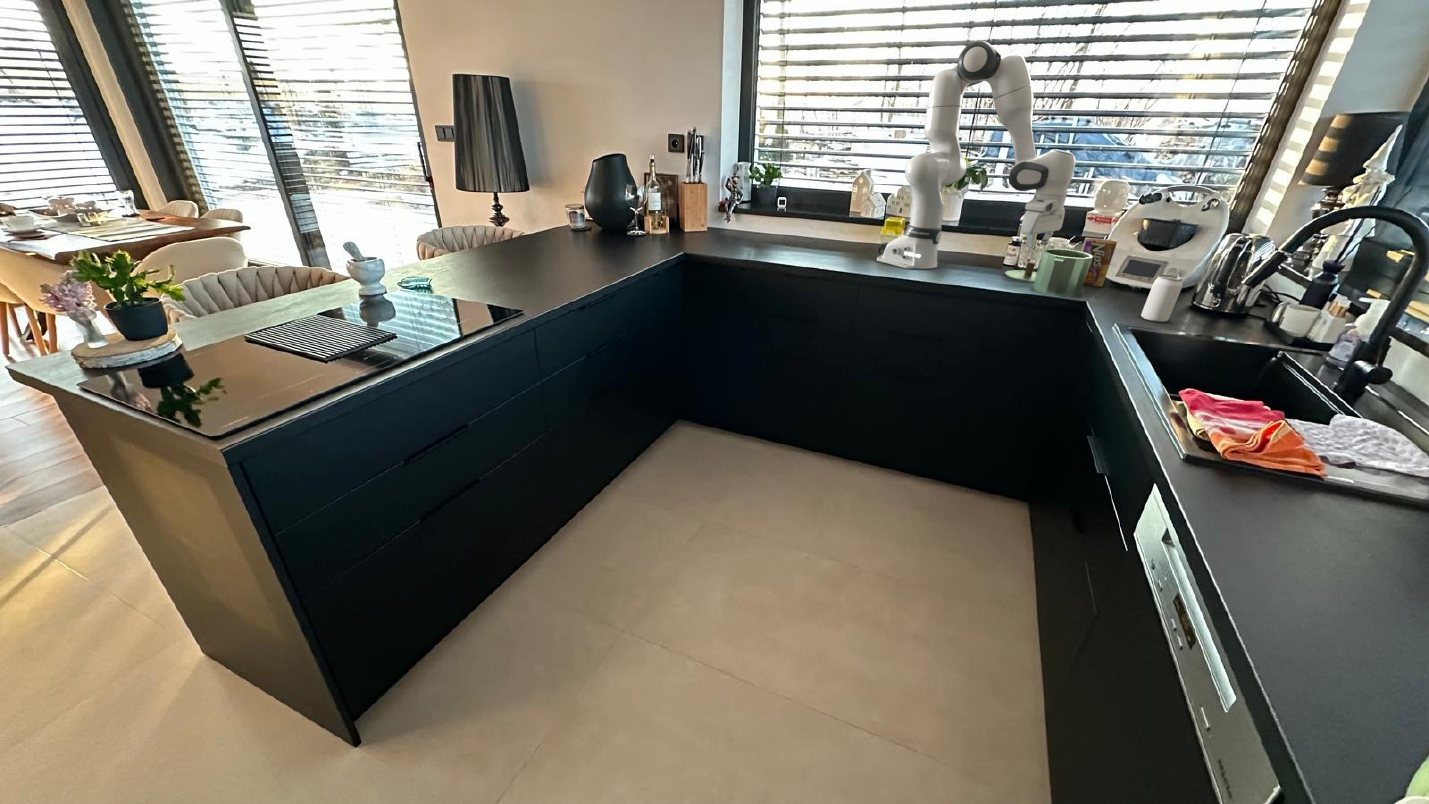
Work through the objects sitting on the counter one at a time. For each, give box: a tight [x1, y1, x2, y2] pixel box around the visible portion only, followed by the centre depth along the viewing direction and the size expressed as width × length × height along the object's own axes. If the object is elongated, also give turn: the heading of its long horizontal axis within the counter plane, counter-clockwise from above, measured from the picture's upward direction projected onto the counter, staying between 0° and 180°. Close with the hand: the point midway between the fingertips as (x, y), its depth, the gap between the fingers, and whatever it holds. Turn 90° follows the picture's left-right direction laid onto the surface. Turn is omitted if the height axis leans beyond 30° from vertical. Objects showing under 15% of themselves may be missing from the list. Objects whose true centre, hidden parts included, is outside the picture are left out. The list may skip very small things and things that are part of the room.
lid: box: [1004, 261, 1037, 283], centre depth 195 cm, size 15×15×6 cm
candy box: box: [1080, 237, 1118, 287], centre depth 187 cm, size 9×4×15 cm, turn 65°
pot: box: [1032, 248, 1093, 298], centre depth 179 cm, size 14×19×12 cm
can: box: [1140, 274, 1184, 323], centre depth 156 cm, size 6×6×12 cm
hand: (1036, 245), depth 190 cm, fingers open, 8 cm apart
